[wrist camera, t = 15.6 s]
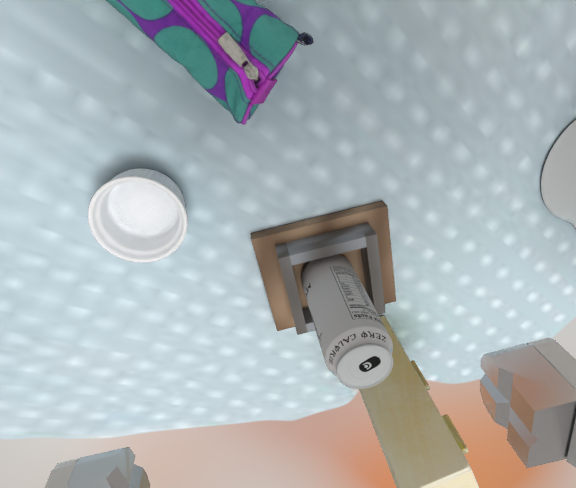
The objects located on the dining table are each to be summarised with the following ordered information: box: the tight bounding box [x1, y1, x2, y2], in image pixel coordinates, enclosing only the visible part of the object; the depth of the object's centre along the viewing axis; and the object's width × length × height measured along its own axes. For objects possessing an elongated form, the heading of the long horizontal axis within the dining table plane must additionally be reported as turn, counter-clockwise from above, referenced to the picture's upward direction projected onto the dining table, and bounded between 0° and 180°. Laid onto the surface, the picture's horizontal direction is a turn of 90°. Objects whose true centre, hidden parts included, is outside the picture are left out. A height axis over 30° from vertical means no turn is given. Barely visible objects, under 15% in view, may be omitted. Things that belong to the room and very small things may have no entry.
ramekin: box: [88, 168, 188, 263], centre depth 40 cm, size 9×9×4 cm
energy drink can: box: [301, 254, 393, 389], centre depth 40 cm, size 6×6×15 cm
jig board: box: [251, 201, 396, 335], centre depth 46 cm, size 15×13×4 cm
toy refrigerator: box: [359, 316, 479, 488], centre depth 46 cm, size 8×7×21 cm
